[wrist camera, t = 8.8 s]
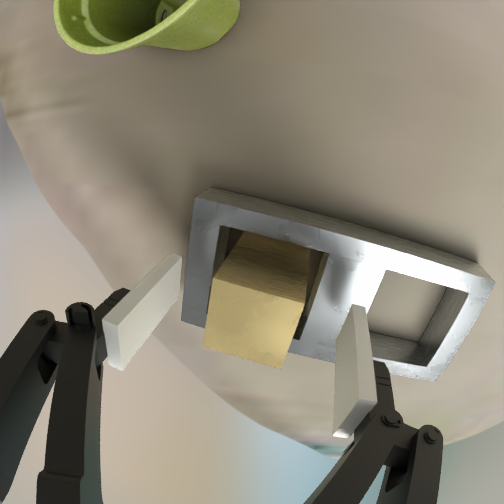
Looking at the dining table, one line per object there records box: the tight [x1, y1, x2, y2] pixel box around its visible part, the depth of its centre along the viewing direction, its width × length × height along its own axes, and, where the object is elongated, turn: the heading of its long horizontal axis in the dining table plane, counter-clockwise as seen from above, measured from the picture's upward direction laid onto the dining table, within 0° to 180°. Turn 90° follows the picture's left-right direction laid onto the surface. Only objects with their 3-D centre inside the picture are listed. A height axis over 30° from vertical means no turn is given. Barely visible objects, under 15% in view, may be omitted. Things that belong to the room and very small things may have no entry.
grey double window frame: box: [181, 187, 495, 381], centre depth 20 cm, size 9×20×3 cm, turn 78°
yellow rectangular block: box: [203, 231, 310, 369], centre depth 19 cm, size 4×4×7 cm
